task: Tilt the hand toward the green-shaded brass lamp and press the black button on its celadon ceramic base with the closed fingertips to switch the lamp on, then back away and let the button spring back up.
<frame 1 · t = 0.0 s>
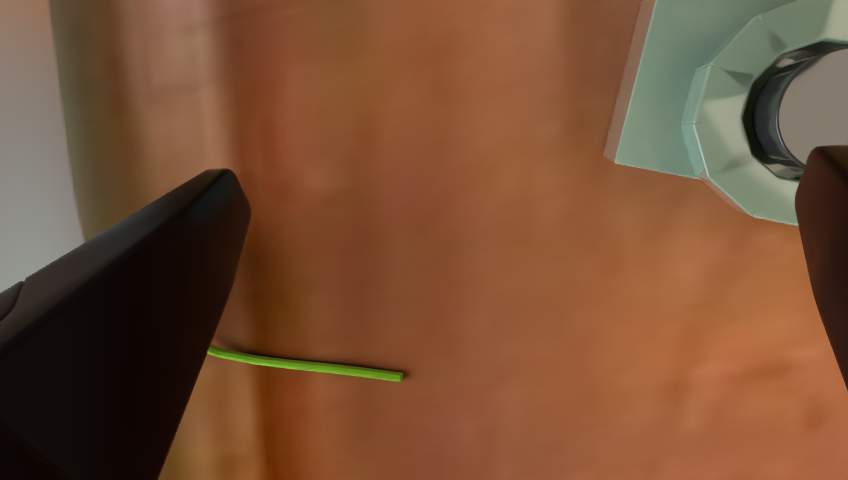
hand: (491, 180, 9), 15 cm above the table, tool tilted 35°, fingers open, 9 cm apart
decorative flower: (256, 300, 28), on the table
lamp base: (766, 29, 21), on the table
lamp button: (829, 113, 14), point 8 cm above the table, slide at 0.1 cm
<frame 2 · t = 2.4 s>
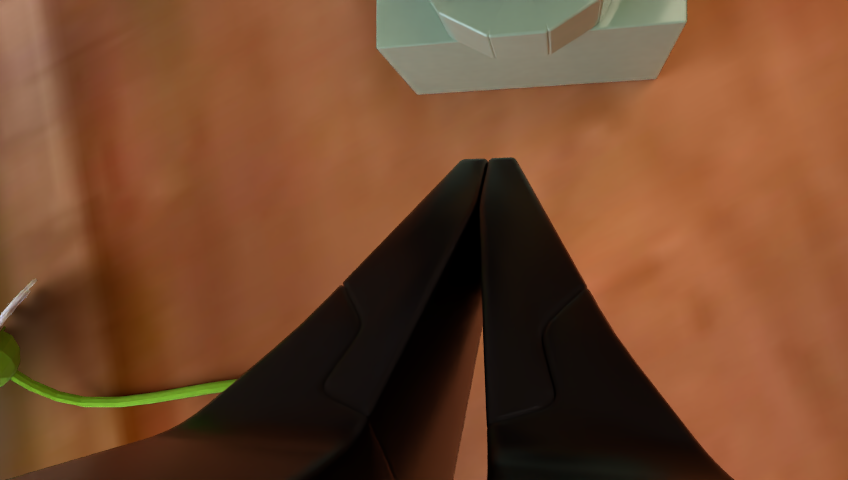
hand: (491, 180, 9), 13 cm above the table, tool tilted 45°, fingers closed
decorative flower: (119, 335, 26), on the table
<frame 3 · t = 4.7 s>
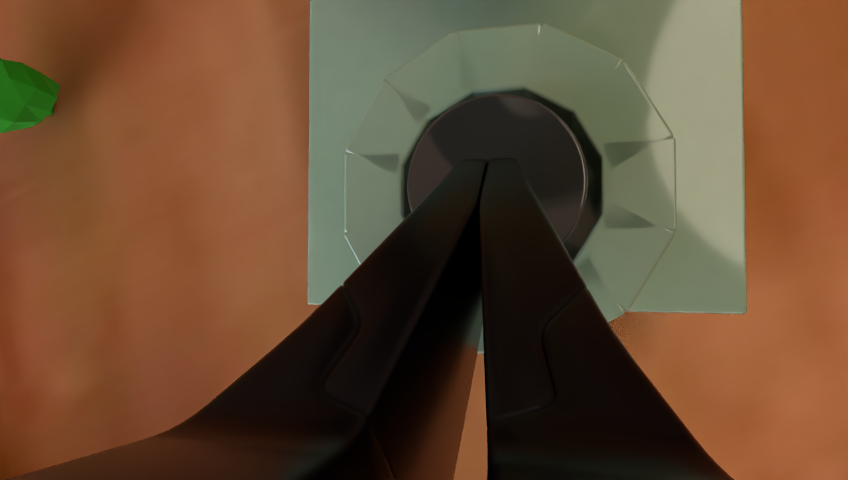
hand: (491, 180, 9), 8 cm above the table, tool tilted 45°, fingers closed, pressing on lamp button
flower: (53, 115, 21), on the table
lamp base: (523, 108, 17), on the table
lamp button: (499, 189, 10), point 7 cm above the table, slide at -0.6 cm, touching gripper
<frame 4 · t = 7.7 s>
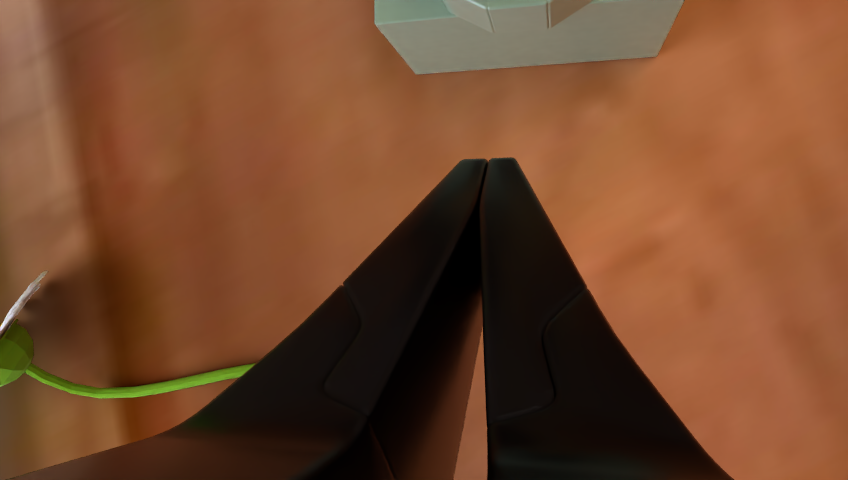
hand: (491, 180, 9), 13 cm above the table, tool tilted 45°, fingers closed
decorative flower: (132, 325, 26), on the table
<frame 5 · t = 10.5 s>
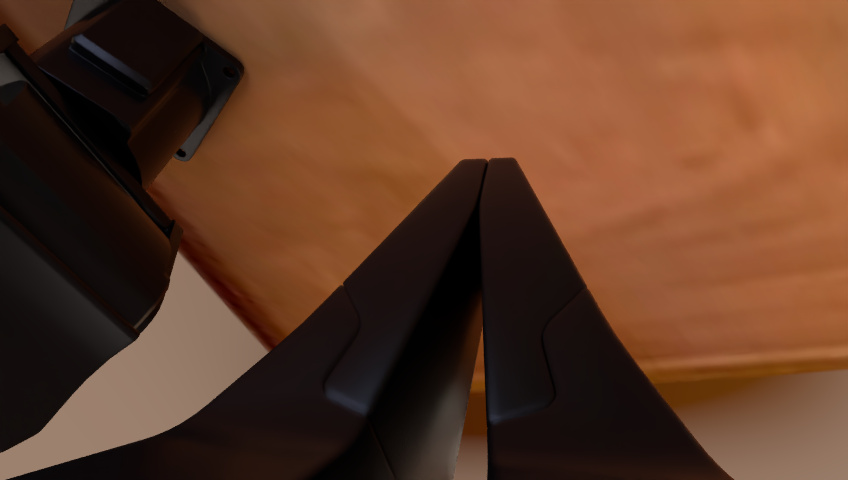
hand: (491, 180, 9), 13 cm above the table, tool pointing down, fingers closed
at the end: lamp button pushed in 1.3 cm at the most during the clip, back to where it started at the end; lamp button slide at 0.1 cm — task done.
